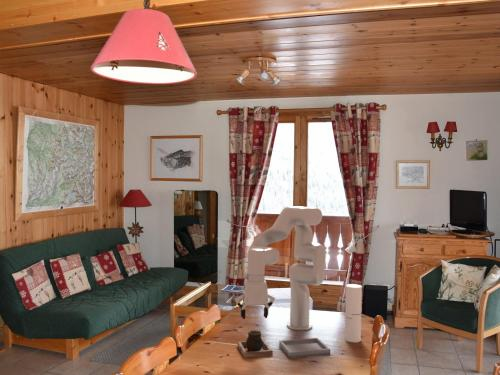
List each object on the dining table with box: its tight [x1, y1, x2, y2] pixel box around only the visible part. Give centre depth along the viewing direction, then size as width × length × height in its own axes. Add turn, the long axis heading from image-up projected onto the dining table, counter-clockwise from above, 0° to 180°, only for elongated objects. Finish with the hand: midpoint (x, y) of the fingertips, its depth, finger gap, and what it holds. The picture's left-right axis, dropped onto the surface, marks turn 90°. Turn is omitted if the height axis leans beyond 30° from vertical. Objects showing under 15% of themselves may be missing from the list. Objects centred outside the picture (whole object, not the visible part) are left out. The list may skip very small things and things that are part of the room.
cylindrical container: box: [344, 283, 363, 343], centre depth 208 cm, size 7×7×25 cm
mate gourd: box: [245, 329, 263, 352], centre depth 193 cm, size 7×8×10 cm
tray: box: [278, 337, 331, 359], centre depth 194 cm, size 14×18×2 cm
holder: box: [237, 339, 273, 359], centre depth 193 cm, size 13×12×2 cm
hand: (254, 317), depth 192 cm, fingers open, 9 cm apart
